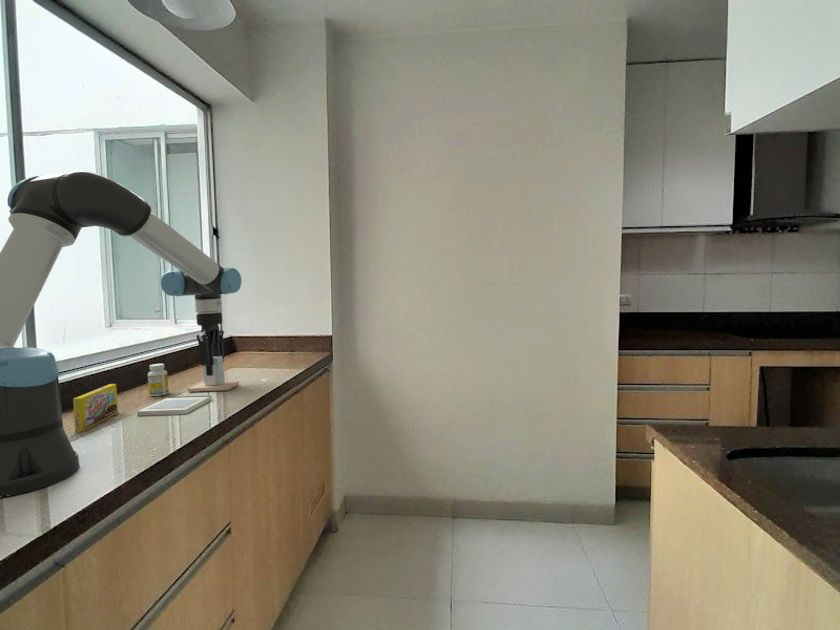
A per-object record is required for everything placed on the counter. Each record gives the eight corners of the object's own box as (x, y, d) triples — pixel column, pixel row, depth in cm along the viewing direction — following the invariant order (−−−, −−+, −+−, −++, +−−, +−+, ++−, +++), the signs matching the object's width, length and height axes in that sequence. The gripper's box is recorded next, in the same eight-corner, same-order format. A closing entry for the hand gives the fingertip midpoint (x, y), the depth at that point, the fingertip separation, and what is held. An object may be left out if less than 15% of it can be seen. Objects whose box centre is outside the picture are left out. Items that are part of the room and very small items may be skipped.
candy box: (84, 432, 106) (80, 398, 106) (74, 433, 106) (70, 398, 105) (119, 412, 122) (116, 383, 122) (111, 413, 122) (108, 383, 121)
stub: (227, 390, 142) (225, 359, 141) (187, 391, 142) (185, 360, 141) (238, 384, 150) (236, 354, 149) (200, 385, 150) (198, 356, 149)
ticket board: (185, 414, 117) (185, 409, 117) (137, 415, 118) (136, 410, 118) (211, 399, 131) (211, 395, 131) (168, 401, 132) (168, 396, 132)
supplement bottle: (156, 397, 137) (153, 366, 137) (145, 396, 140) (142, 365, 139) (172, 393, 142) (170, 363, 141) (162, 391, 145) (159, 362, 144)
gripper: (207, 313, 136) (213, 389, 138) (231, 310, 152) (236, 377, 154) (183, 314, 137) (190, 390, 139) (210, 311, 153) (215, 378, 155)
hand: (214, 383), depth 146 cm, fingers closed on stub, 3 cm apart
